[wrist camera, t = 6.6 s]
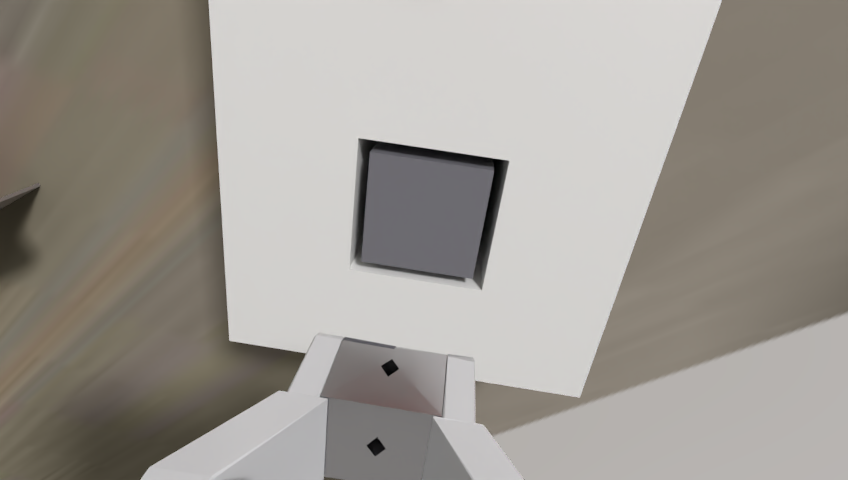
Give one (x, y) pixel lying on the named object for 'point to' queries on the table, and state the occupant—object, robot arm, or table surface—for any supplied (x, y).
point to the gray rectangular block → (425, 208)
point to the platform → (16, 195)
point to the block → (454, 132)
